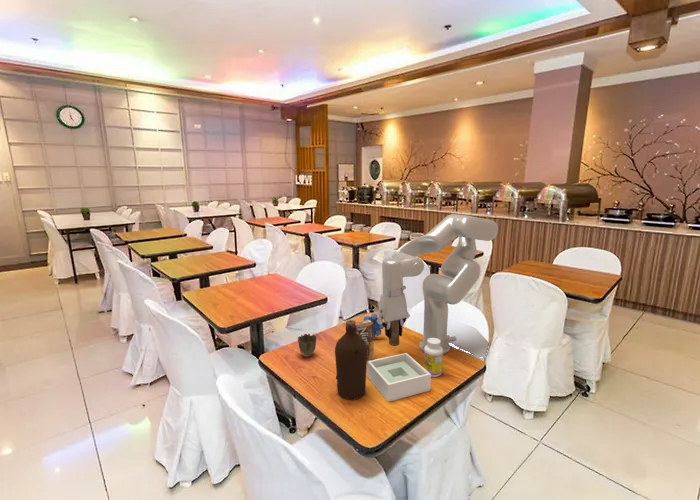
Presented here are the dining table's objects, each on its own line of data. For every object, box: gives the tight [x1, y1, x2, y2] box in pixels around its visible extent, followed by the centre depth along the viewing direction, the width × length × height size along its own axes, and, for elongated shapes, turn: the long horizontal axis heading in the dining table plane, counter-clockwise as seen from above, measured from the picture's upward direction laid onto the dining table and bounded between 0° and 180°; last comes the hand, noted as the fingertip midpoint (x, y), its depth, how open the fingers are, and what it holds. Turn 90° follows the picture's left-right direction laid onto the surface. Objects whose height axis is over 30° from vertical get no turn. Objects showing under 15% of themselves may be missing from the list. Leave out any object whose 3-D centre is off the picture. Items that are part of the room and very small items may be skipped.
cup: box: [297, 333, 317, 358], centre depth 144 cm, size 8×7×8 cm
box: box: [366, 352, 432, 403], centre depth 124 cm, size 16×16×6 cm
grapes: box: [362, 313, 385, 339], centre depth 158 cm, size 12×7×12 cm, turn 93°
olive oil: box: [334, 319, 367, 401], centre depth 118 cm, size 11×11×25 cm
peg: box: [388, 320, 400, 347], centre depth 137 cm, size 4×4×12 cm
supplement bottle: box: [422, 338, 444, 378], centre depth 130 cm, size 7×7×13 cm
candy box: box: [355, 320, 375, 361], centre depth 140 cm, size 9×4×15 cm, turn 116°
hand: (393, 335), depth 138 cm, fingers closed on peg, 4 cm apart
